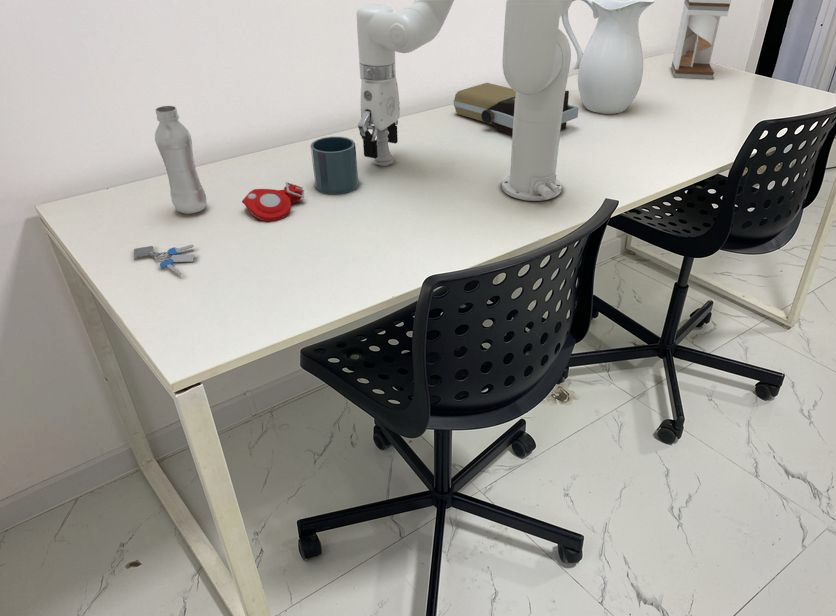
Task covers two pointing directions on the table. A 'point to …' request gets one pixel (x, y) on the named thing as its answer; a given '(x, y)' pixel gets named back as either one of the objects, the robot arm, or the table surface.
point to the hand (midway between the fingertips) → (381, 149)
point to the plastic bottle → (179, 161)
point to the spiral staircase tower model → (697, 38)
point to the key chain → (166, 263)
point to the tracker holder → (272, 201)
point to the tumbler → (334, 165)
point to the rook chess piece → (383, 149)
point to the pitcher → (610, 55)
